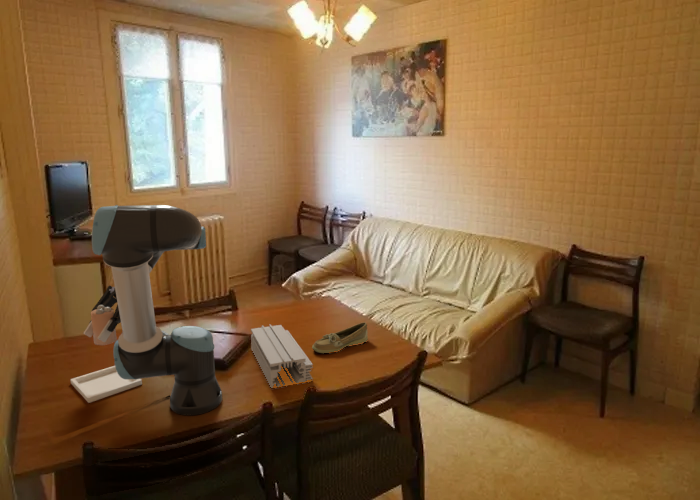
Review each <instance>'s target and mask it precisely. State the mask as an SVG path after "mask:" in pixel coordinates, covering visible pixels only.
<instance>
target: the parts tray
mask: <svg viewBox="0 0 700 500" xmlns="http://www.w3.org/2000/svg"><path fill="white" fill-rule="evenodd" d="M70 385H72V387H74V389H75V390H76V391H77V392H78V393H79V394H80V395H81V396H82V397H83V399H84V400H85V401H86V402H87V403H88V404H89V403H90V404H91V403H93V402H95V401H100V400H101V399H104V398H107V397H109V396H113V395H115V394H119V393H121V392H124V391H127V390H130V389H134V388H135V387H138V386H141V385H143V379H142V378H141V379H136V380H135V379H123V378H121V377H120V376H119V375H118V373H117V370H116V367H115V365H113V366H109V367H106V368H104V369H99V370H95V371H93V372H90V373H86V374H83V375H80V376H77V377H73V378H70Z"/></svg>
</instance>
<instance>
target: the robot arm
mask: <svg viewBox="0 0 700 500" xmlns="http://www.w3.org/2000/svg"><path fill="white" fill-rule="evenodd" d="M206 235H207V233H206V227H204V226H202V225H201V222H200V220H199V219H198V217H197V216H196V215H194V214H193V213H191V212H190V211H188V210H186V209H183V208H180V207H176V206H172V205H167V204H166V205H165V204H156V205H155V204H153V205H150V204H146V205H118V204H114V205H110V206H109V205H107V206H101V207H99V208H98V209H97V210H96V211H95V214H94V217H93V222H92V231H91V249H92V252H93V254H94V255H98V256H101V255H102V256H101V257H102V260H103V263H104V264H105V265H106V266H108V267H110V268H111V274H112V279H113V285H114V286H112V285H108V286H107V288H106V290H105V292H104V293H103V295H102V296H101V297H100V299H99V300H98V301H97V303H96V304H95V305H94V306H93V308H92V309H91V312H92V311H93V310H96V309H97V307H98V306H99V305H103V306H104V307H110V308H112V307H114V306H115V304H117V305H116V308H115V311H114V315H113V317H112V318H110V319H111V320H109V321H108V322H107V324H106V326H105V327H104V329H103V330H102V332H101V333H100V335H99V336H98V339H99V340H101V341H103V342H106V340H107V339H108V337H109V336H110V334H111V332H113V331H114V329H116V327H117V326H118V325H119V324H121V329H122V332H121V334H119V336H118V339H116V341H115V342H114V345H113V350H112V351H113V352H112V353H113V355H112V356H113V359H114V366H115V367H116V370H117V373H118V375H119V376H120V377H121V378H123V379H135V380H136V379H141V380H142V379H148V378H149V379H150V378H155V377H164V376H174V382H173V387H172V390H171V393H170V397H169V404H170V405H169V407H170V409H171V411H173V412H174V413H175V414H179V415H182V416H197V415H202V414H205V413H209V412H211V411H213V410H215V409H216V408H217V407H218V406H220V405H221V403H222V401H223V392H222V389H221V387H220V384H219V382H218V379H217V377H216V368H215V352H214V350H215V344H214V337H213V334H212V332H211V331H210V330H208V329H206V328H204V327H202V326H198V325H197V326H195V325H183V326H180V327H175V328H174V329H173V330H172V331H171V333H170V334H169V335H163V333H162V331H163V330H162V329H161V328H160V327H158V326H157V323H156V317H155V316H156V315H155V307H154V301H153V294H152V284H151V277H150V273H151V272H152V271H153V269H154V268H155V266H156V265H157V263H158V262H159V260H160V258H161V257H162V255H163V254H164V253H165V252H169V251H180V250H181V251H183V250H184V251H185V250H202V249H205V248H207V239H206V238H207V237H206ZM112 320H113V321H112ZM161 330H162V331H161ZM82 333H83V335H85V336H87V337H88V338H92V336H93V329H92V320H89V322H88V325H87V326H86V328H85V330H84V331H83V332H82Z"/></svg>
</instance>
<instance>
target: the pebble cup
mask: <svg viewBox="0 0 700 500" xmlns="http://www.w3.org/2000/svg"><path fill="white" fill-rule="evenodd" d="M114 313H115V311H114V308H112V307H111V308H110V307H104V306H103V305H99V306H98V307H97V309H96V310H93V311H92V310H91V312H90V318H91V320H92V329H93V335H92V336H93V337H92V338H93V344H94V345H96V346H106V345H110V344H113V343H115V342H116V341H117V331H116V328H115V329H114V331H113V332H111V334H110V336H109V337H108V339H107V340H106V342H103V341H101V340H99V339H98V336H99V335H100V333H101V332H102V330H103V329H104V327H105V326H106V324H107V322H108V321H109V320H111V319H110V318H112V317H113V315H114ZM91 320H90V321H91ZM112 321H113V320H112Z"/></svg>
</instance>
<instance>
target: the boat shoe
mask: <svg viewBox="0 0 700 500" xmlns="http://www.w3.org/2000/svg"><path fill="white" fill-rule="evenodd" d="M368 333H369V332H368V323H367V322H365V321H364V322H360V323H357V324H354V325H352V326H350V327H347V328H345V329H342V330H339V331H336V332H334V333H333V332H330V333H329V334H328V333H327V334H325V335H322V337H321V338H319V339H317V340H315V342H314V343H313V344H312V347H311V348H312V350H313V351H314V352H316V353H319V354H324V353H329V352H334V351H338V350H340V349H342V348H344V347H346V346H348V347H350V346H349V345H353V344H358V343H362V342H366V341H367V340H369V337H368ZM367 342H368V341H367ZM346 348H347V347H346ZM344 349H345V348H344ZM329 354H330V353H329Z"/></svg>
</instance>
